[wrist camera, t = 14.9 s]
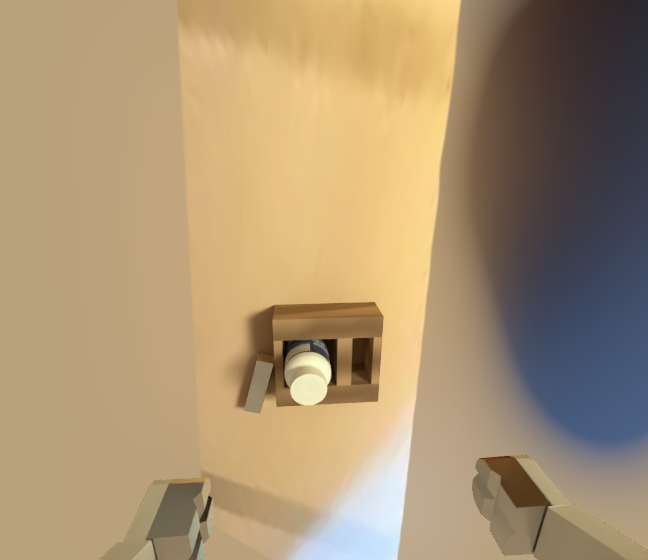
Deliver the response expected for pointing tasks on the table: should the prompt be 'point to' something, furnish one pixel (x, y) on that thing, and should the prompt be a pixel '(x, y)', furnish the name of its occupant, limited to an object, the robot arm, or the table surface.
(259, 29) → the table surface
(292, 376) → the pill bottle
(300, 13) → the table surface
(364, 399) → the wooden compartment tray
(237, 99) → the table surface
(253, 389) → the slim grey peg
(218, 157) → the table surface
